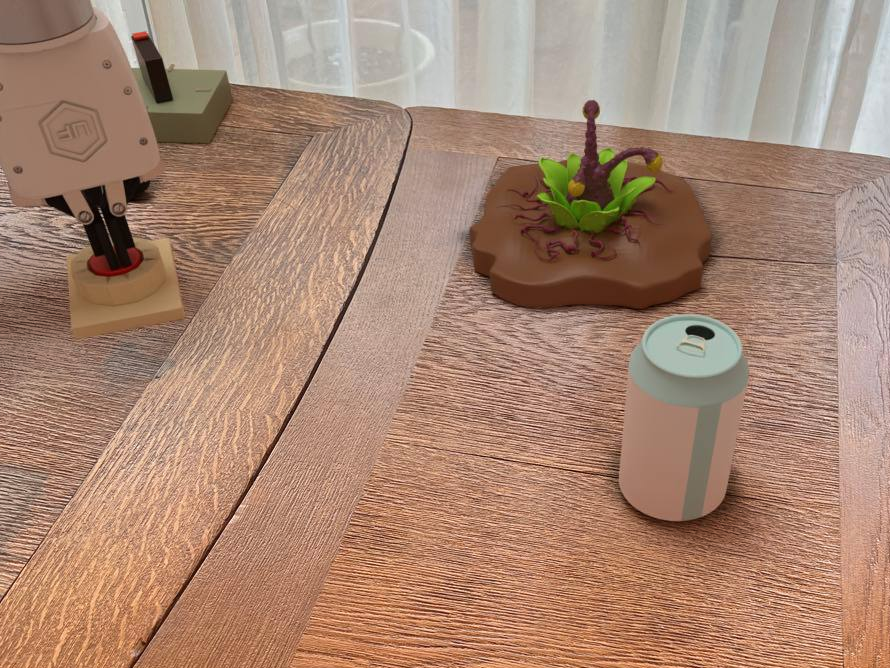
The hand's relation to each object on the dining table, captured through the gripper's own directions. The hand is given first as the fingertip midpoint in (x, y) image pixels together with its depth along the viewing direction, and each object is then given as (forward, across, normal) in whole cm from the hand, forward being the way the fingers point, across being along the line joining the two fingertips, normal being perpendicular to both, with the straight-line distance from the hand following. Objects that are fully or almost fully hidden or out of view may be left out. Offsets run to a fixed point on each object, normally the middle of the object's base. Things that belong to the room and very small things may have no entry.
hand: (117, 258), depth 78 cm
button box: (+4, 0, 0) cm, 4 cm away
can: (+5, +27, -36) cm, 46 cm away
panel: (+4, +10, +29) cm, 31 cm away
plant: (+5, +36, -8) cm, 38 cm away
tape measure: (+4, +2, +18) cm, 18 cm away
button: (+2, 0, 0) cm, 2 cm away
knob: (+1, +10, +29) cm, 31 cm away
